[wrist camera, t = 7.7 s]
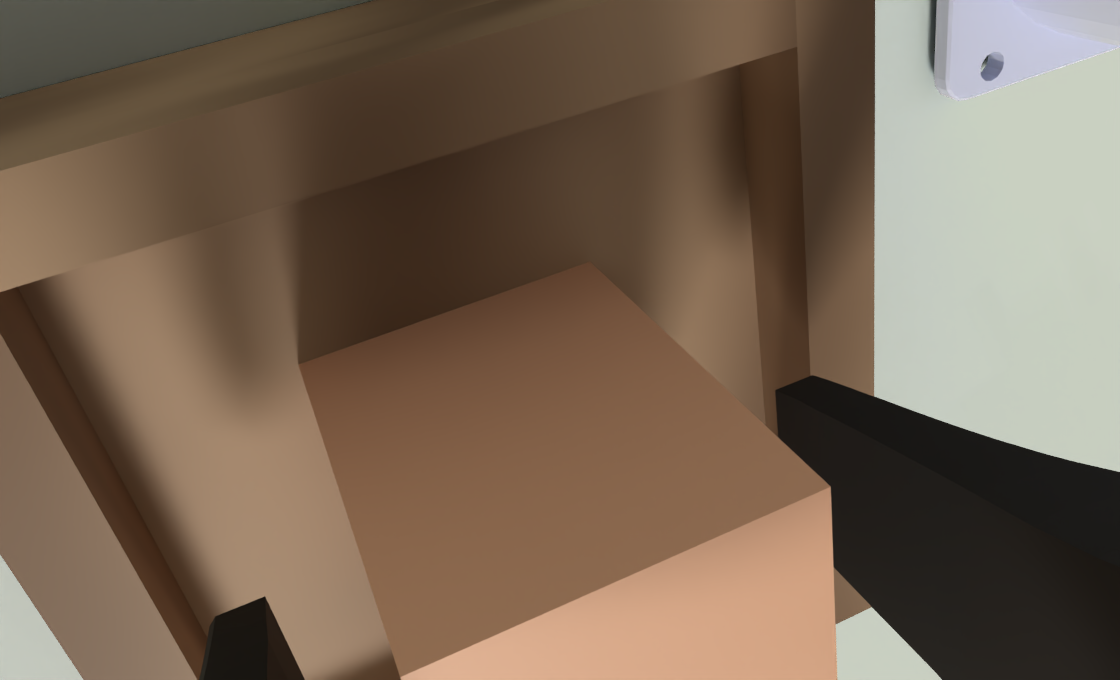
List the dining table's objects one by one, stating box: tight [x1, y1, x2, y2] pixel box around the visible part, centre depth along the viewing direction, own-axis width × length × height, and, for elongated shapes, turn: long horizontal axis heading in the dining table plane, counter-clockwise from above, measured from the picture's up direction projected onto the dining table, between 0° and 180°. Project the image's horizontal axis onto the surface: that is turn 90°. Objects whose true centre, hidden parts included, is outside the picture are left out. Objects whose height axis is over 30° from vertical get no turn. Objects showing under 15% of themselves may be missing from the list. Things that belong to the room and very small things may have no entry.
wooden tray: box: [0, 0, 875, 680], centre depth 15 cm, size 12×12×4 cm
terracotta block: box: [299, 262, 837, 680], centre depth 13 cm, size 4×4×6 cm
